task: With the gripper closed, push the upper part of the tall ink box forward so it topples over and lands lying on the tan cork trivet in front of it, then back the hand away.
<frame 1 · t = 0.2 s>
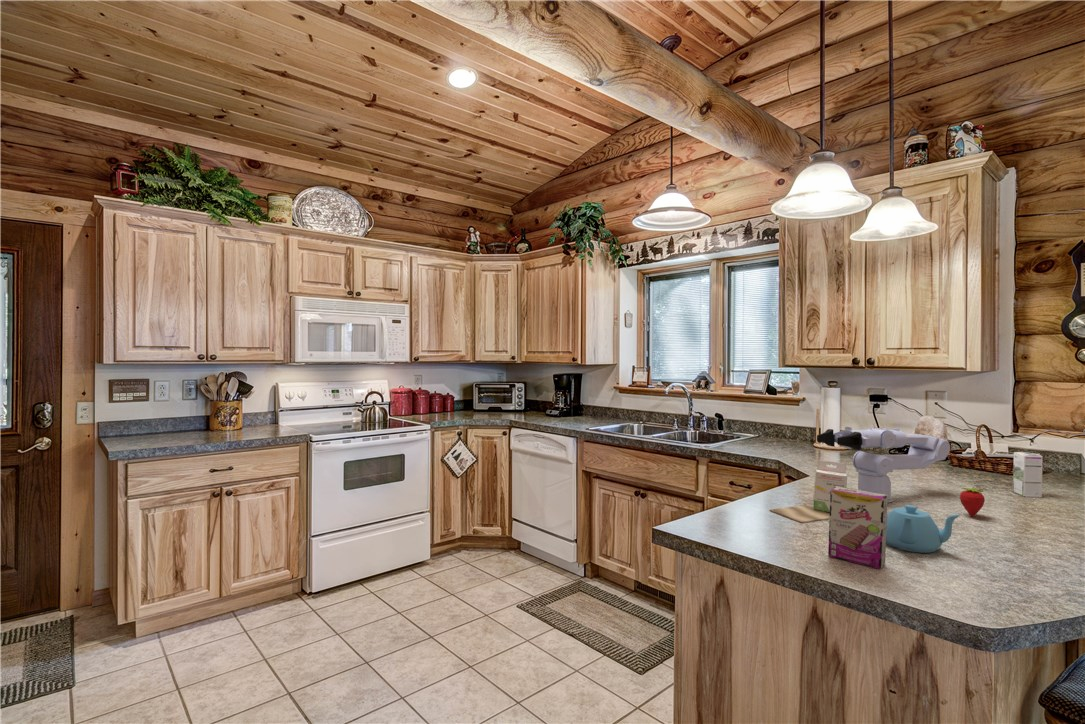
hand: (827, 439, 169), 21 cm above the worktop, tool horizontal, fingers open, 7 cm apart
cork trivet: (802, 514, 160), on the worktop
teapot: (909, 547, 135), on the worktop
ink box: (828, 510, 164), on the worktop, touching cork trivet
candy bar box: (856, 561, 126), on the worktop
strawberry: (971, 516, 160), on the worktop
syrup box: (1026, 495, 185), on the worktop
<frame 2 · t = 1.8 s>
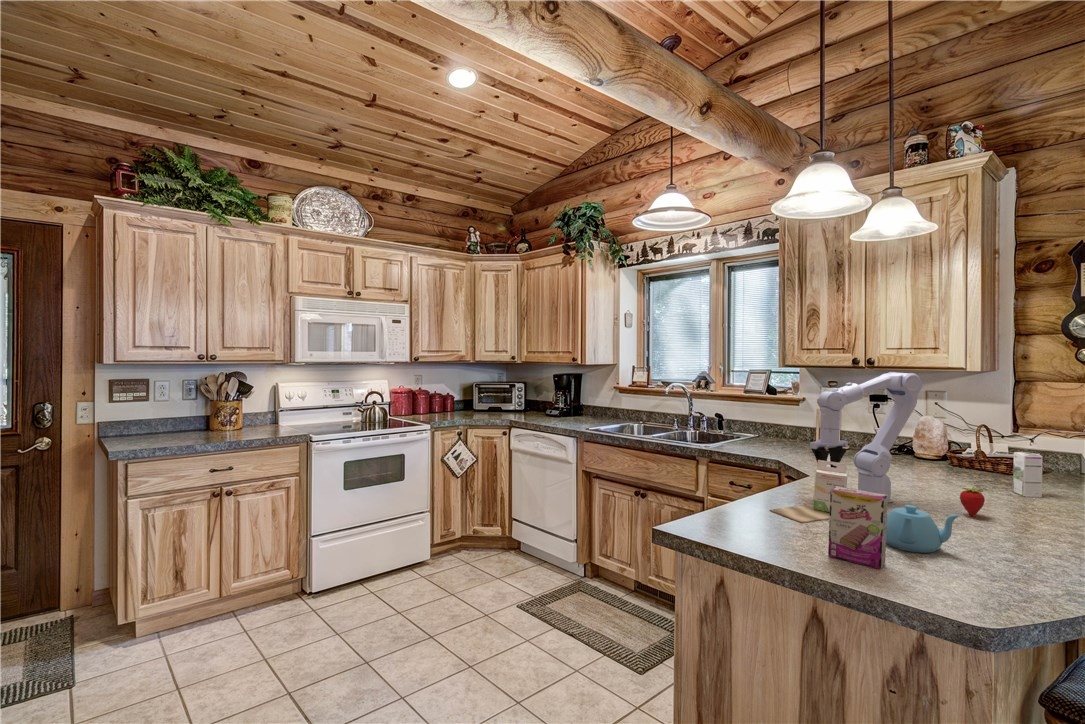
hand: (828, 469, 174), 10 cm above the worktop, tool pointing down, fingers open, 5 cm apart
nothing on the worktop moved.
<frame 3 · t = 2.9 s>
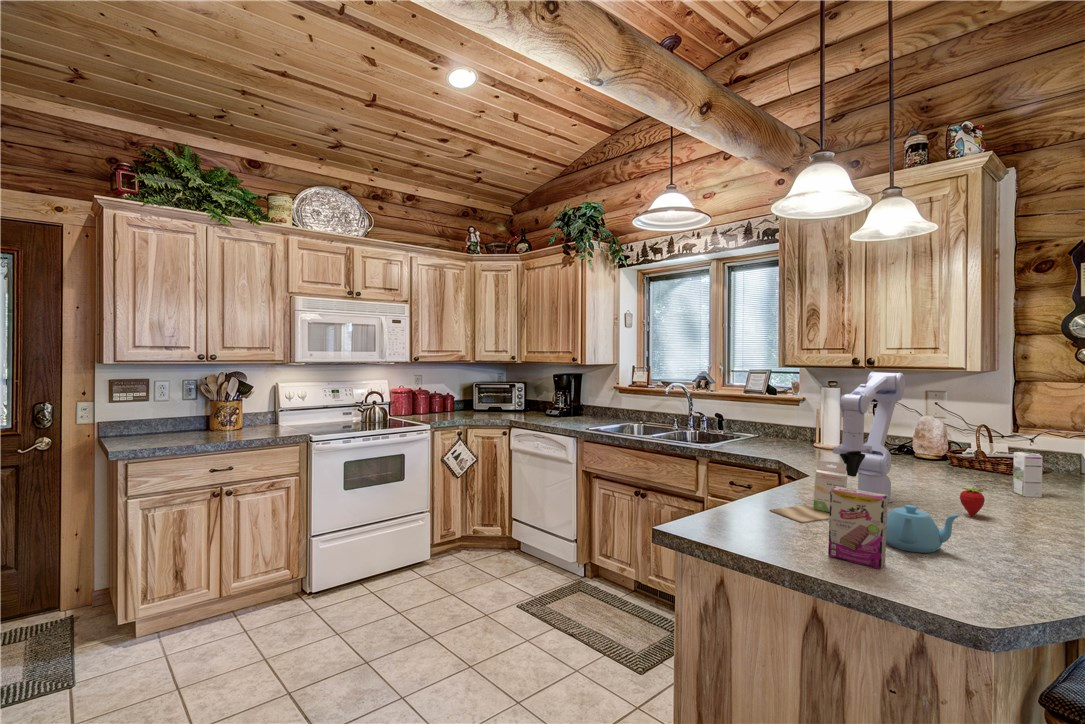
hand: (851, 475, 167), 10 cm above the worktop, tool pointing down, fingers closed
nothing on the worktop moved.
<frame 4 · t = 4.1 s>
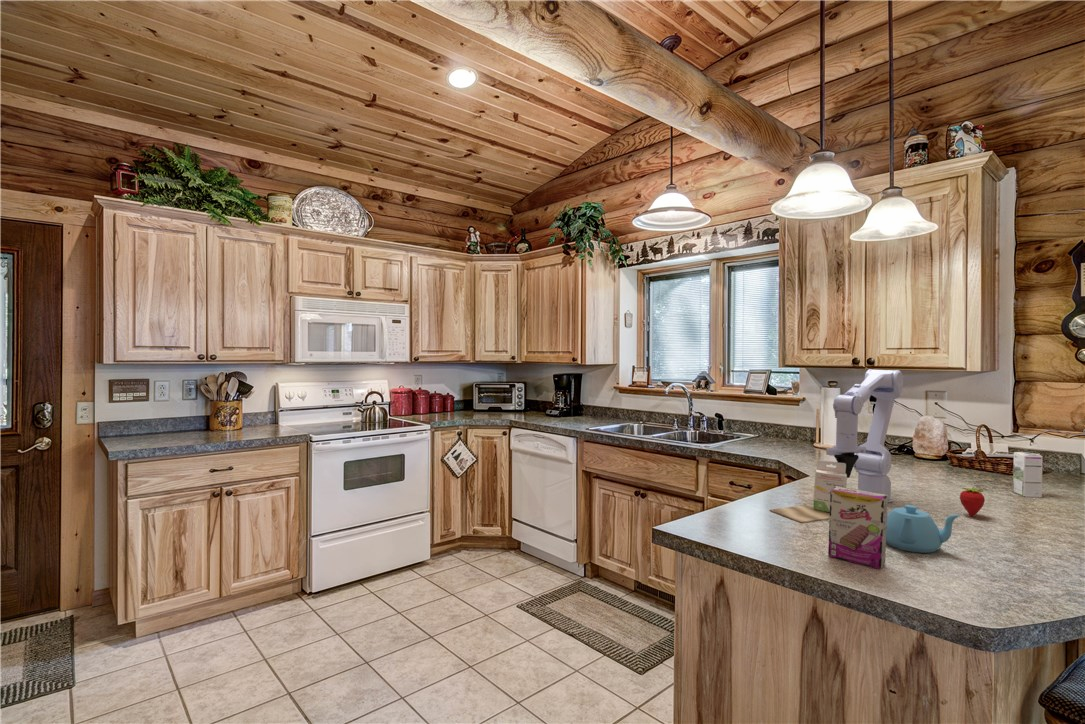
hand: (845, 477, 166), 10 cm above the worktop, tool pointing down, fingers closed
ink box: (828, 510, 164), on the worktop, touching cork trivet, gripper
everything else where it was.
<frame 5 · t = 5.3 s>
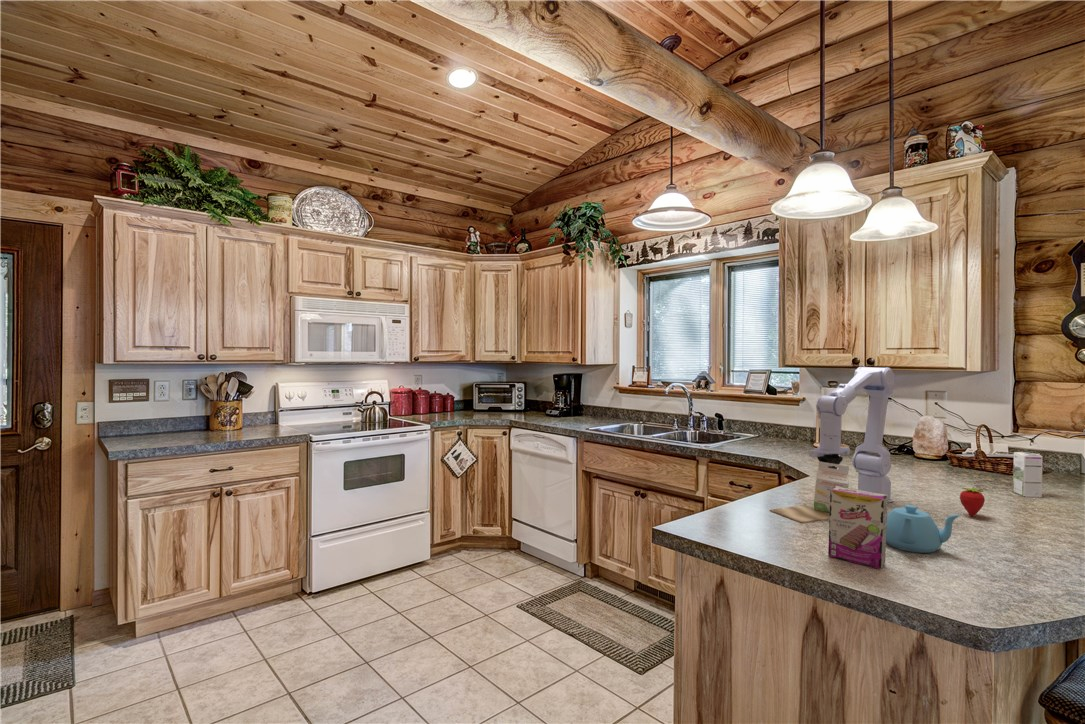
hand: (829, 479, 164), 10 cm above the worktop, tool pointing down, fingers closed
ink box: (829, 508, 164), point 1 cm above the worktop, touching cork trivet
everything else where it was.
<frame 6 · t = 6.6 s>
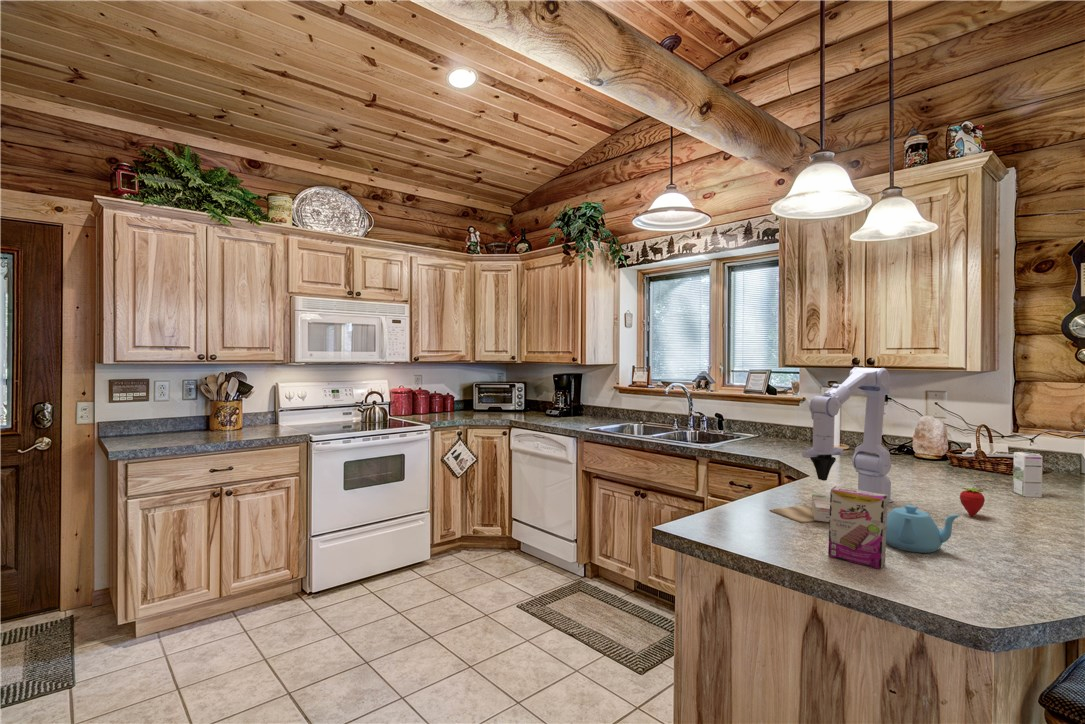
hand: (822, 479, 163), 10 cm above the worktop, tool pointing down, fingers closed
ink box: (827, 503, 162), point 3 cm above the worktop, touching cork trivet
everything else where it was.
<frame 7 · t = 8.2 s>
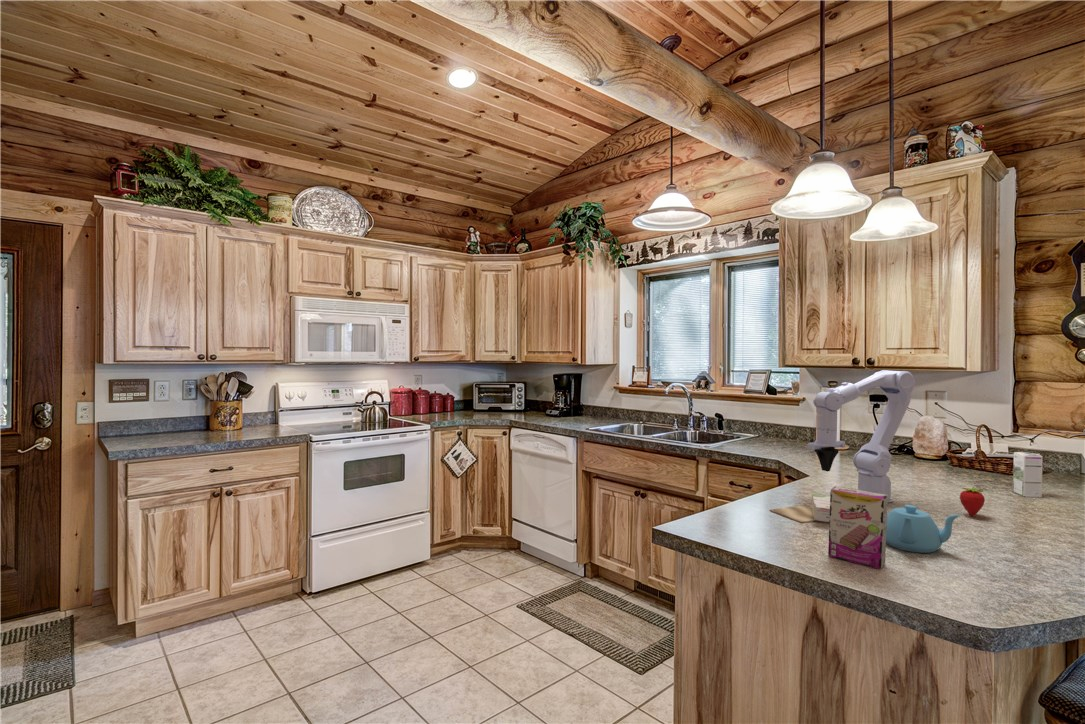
hand: (825, 470, 173), 10 cm above the worktop, tool pointing down, fingers closed
nothing on the worktop moved.
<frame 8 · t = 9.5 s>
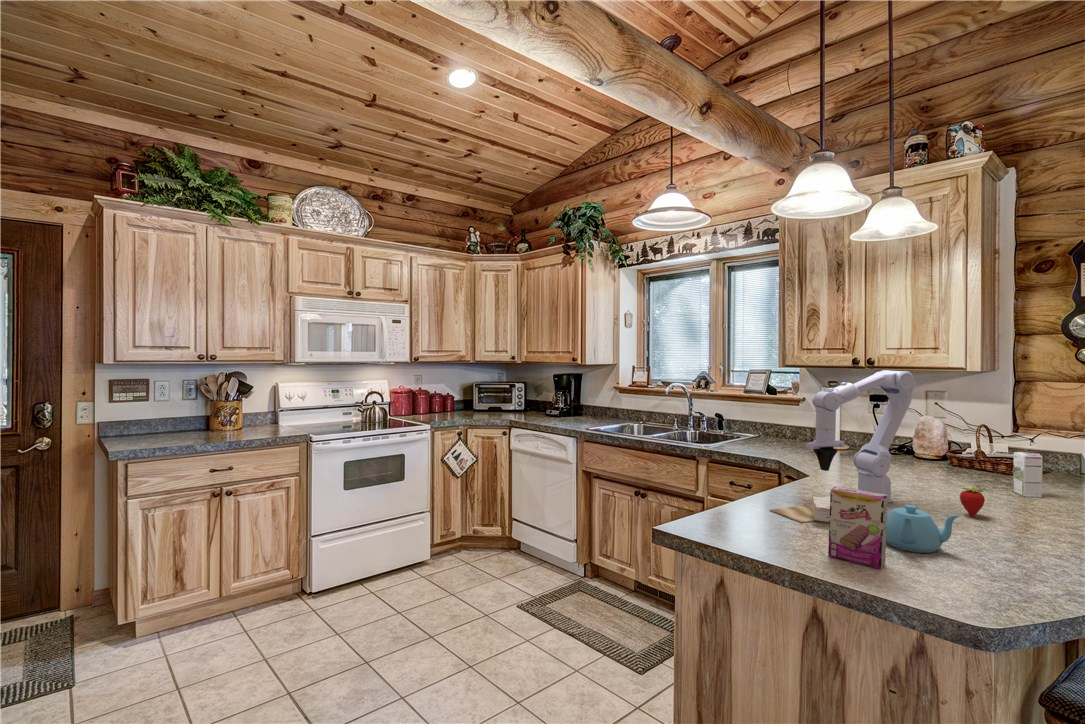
hand: (824, 470, 174), 10 cm above the worktop, tool pointing down, fingers closed
nothing on the worktop moved.
at the end: ink box tilted 89°; ink box inside the target area (7.6 cm from its centre), point 2.8 cm above the worktop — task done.
